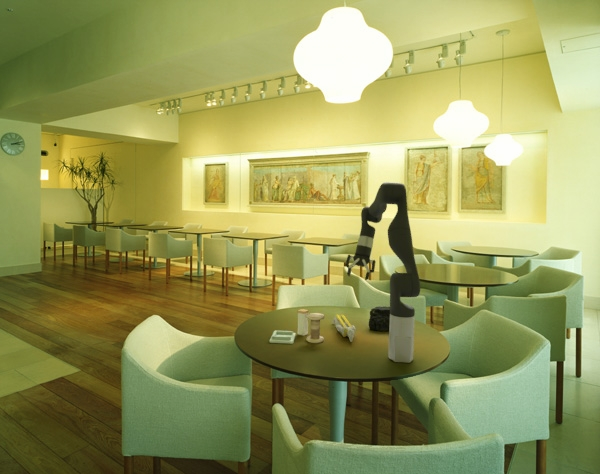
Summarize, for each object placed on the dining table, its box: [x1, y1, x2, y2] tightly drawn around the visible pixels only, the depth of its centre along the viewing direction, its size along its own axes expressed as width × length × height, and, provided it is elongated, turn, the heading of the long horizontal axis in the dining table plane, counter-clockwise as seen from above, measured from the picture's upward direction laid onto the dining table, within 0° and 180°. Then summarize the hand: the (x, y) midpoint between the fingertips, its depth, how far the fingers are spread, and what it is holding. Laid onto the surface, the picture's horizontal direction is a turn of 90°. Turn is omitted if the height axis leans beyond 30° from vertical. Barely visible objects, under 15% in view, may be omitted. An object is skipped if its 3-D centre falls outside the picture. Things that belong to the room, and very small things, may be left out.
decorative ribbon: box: [332, 314, 357, 343], centre depth 193 cm, size 8×6×30 cm
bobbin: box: [305, 312, 325, 344], centre depth 181 cm, size 8×8×11 cm
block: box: [297, 308, 310, 336], centre depth 189 cm, size 4×4×11 cm
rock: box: [368, 306, 390, 332], centre depth 202 cm, size 18×10×15 cm
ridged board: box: [269, 330, 297, 345], centre depth 182 cm, size 12×10×2 cm
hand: (357, 278), depth 205 cm, fingers open, 8 cm apart
